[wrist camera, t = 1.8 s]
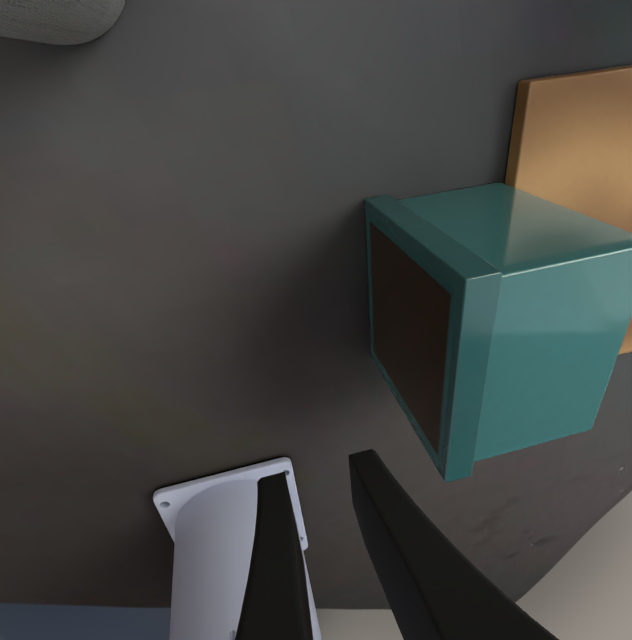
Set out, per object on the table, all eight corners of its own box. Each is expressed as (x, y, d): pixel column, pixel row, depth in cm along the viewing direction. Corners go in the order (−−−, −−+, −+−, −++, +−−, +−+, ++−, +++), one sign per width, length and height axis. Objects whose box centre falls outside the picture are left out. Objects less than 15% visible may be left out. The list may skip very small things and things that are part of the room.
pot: (480, 331, 24) (596, 440, 17) (370, 356, 23) (445, 483, 16) (501, 174, 19) (672, 235, 12) (363, 198, 18) (464, 279, 11)
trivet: (645, 338, 27) (657, 345, 27) (477, 380, 26) (484, 389, 25) (759, 46, 19) (780, 45, 18) (517, 80, 17) (530, 80, 16)
